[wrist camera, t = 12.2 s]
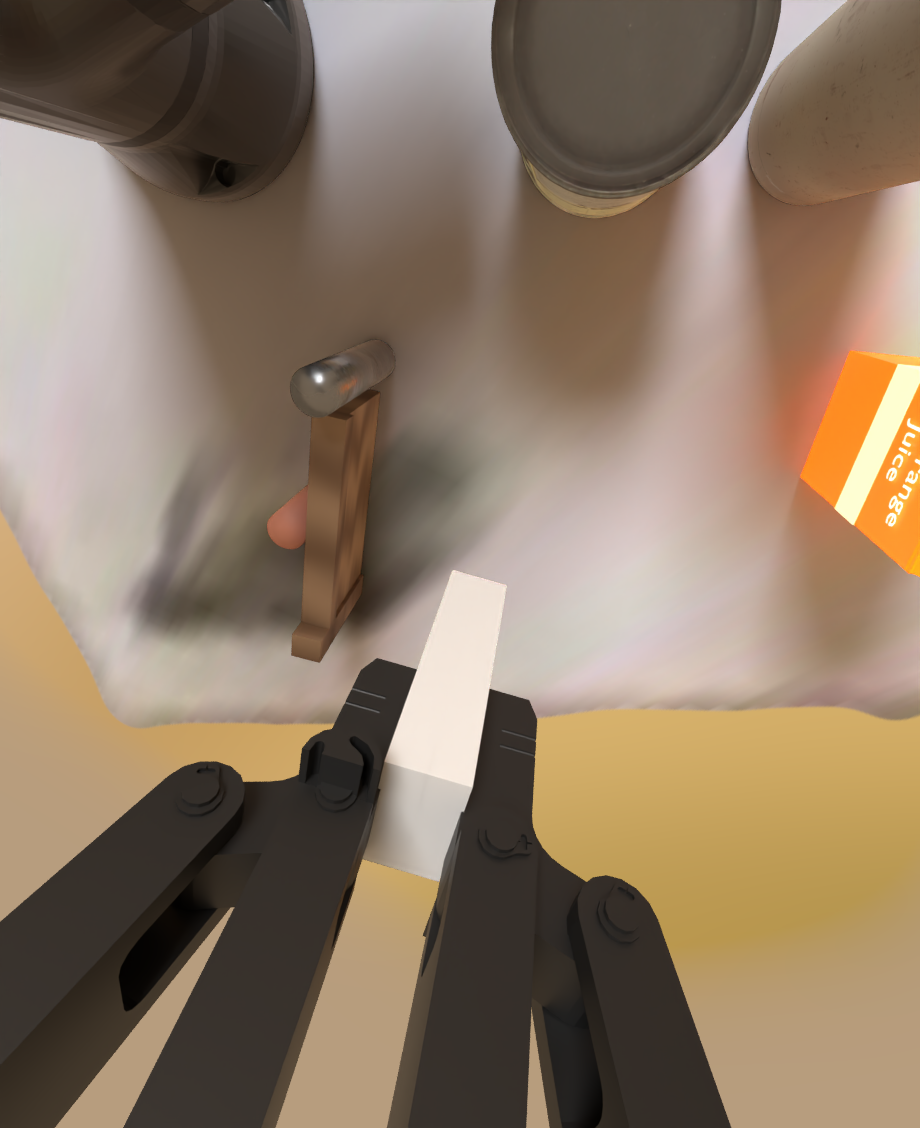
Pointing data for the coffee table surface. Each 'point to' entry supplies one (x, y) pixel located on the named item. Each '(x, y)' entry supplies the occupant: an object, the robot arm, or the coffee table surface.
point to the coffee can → (624, 90)
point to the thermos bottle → (843, 107)
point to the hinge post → (341, 377)
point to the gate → (335, 521)
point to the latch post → (290, 522)
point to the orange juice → (874, 452)
